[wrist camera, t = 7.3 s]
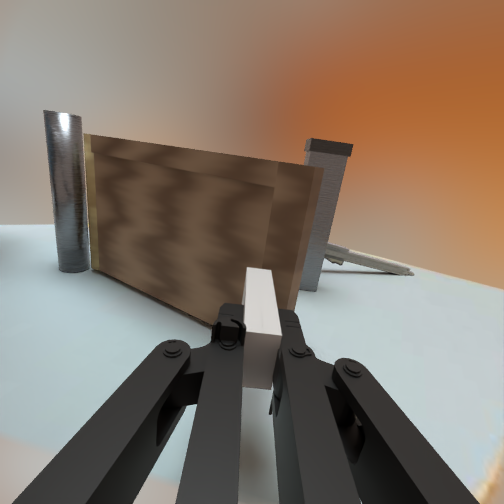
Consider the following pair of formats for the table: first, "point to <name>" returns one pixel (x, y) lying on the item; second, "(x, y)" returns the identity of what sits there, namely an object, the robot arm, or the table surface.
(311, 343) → the table surface
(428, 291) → the table surface
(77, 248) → the hinge post
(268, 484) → the table surface
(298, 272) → the gate
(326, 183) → the post
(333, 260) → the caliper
